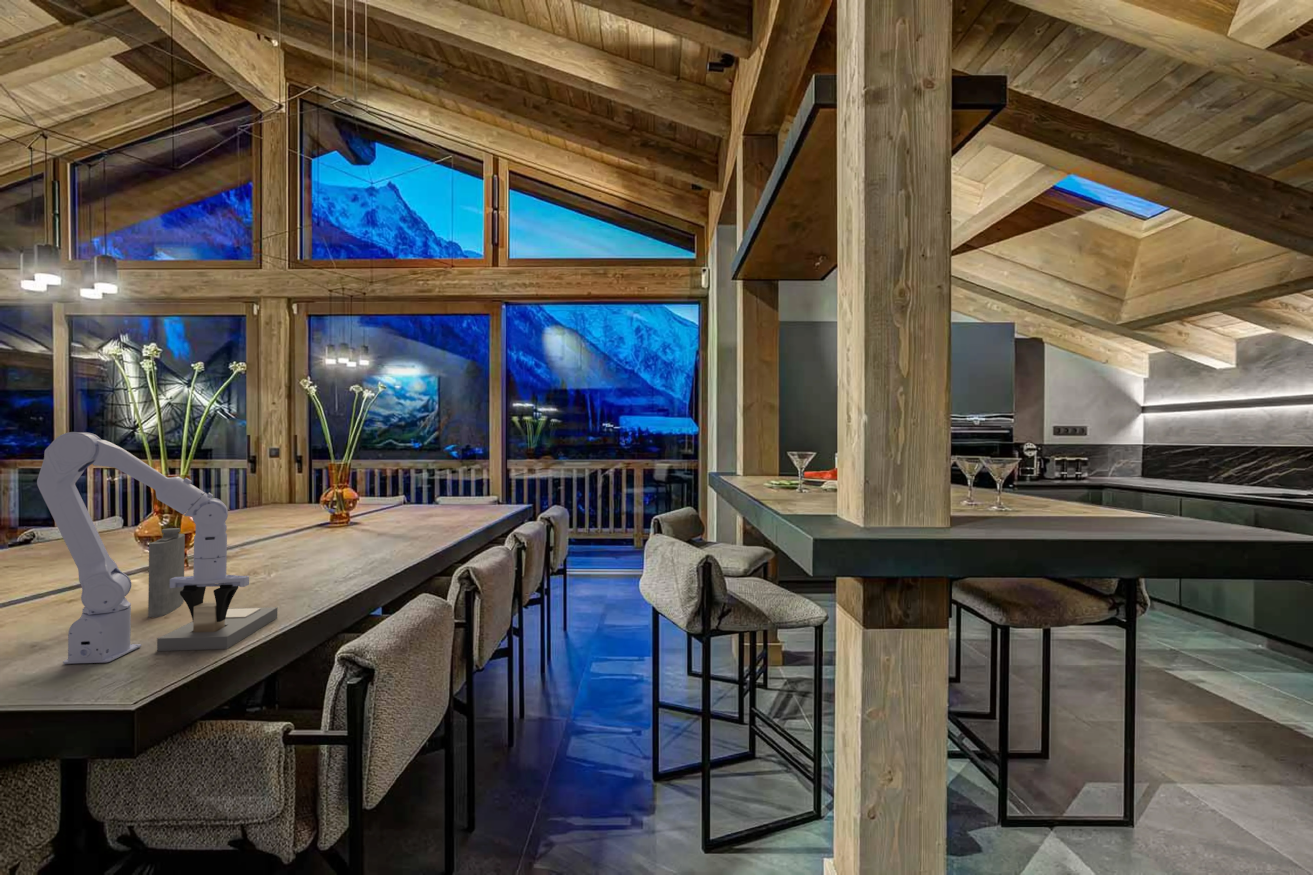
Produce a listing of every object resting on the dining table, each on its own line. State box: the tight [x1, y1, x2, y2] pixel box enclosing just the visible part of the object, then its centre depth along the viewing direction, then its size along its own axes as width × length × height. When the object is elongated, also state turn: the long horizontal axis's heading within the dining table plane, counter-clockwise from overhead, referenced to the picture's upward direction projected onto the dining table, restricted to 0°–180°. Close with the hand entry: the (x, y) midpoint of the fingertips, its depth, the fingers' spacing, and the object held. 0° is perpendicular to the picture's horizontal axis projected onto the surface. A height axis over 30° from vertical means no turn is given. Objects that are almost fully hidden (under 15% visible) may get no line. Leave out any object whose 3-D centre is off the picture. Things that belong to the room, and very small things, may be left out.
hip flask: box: [147, 527, 186, 618], centre depth 156 cm, size 16×4×20 cm, turn 21°
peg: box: [192, 601, 225, 632], centre depth 132 cm, size 4×4×7 cm
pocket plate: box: [156, 606, 278, 652], centre depth 137 cm, size 22×13×3 cm, turn 8°
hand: (209, 620), depth 132 cm, fingers closed on peg, 4 cm apart
